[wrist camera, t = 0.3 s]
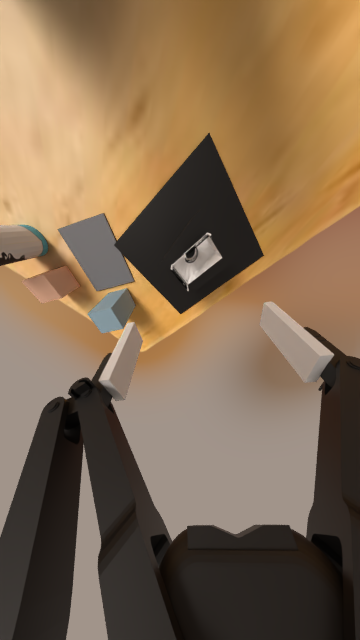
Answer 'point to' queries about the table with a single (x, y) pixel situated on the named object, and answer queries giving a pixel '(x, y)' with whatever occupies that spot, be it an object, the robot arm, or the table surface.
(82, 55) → the table surface
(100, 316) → the slate-blue block
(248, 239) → the black-topped pedestal
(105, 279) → the charcoal mat
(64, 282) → the terracotta block
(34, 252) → the white patterned canister
